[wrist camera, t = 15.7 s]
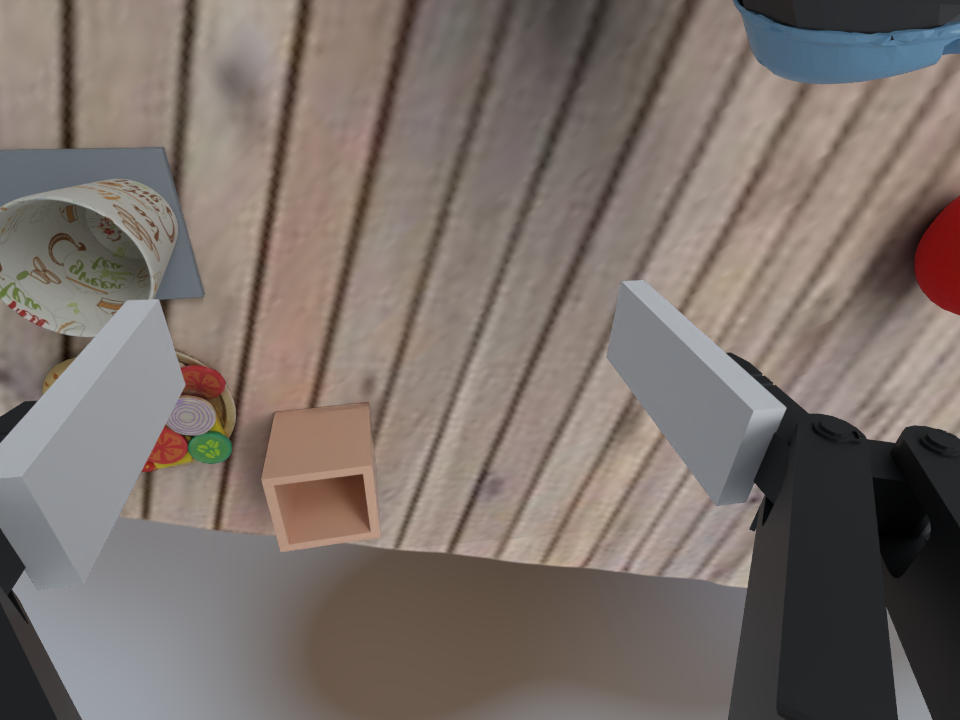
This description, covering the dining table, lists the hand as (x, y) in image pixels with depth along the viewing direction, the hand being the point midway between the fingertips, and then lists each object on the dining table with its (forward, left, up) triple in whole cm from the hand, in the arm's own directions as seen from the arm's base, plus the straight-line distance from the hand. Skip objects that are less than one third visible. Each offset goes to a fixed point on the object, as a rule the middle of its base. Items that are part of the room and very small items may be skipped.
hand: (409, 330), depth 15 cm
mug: (+5, -19, -28) cm, 35 cm away
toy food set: (+20, -20, -29) cm, 41 cm away
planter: (+27, -7, -28) cm, 40 cm away
